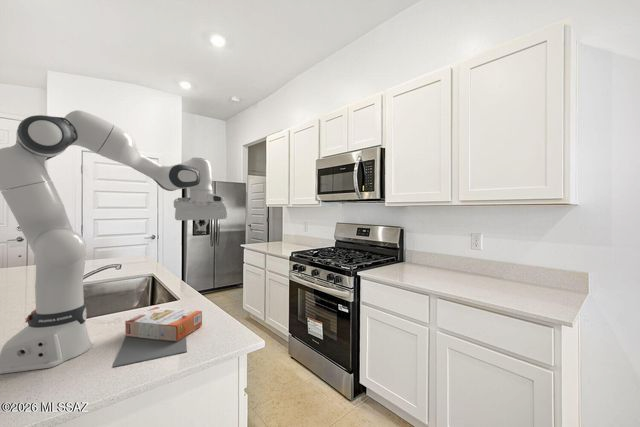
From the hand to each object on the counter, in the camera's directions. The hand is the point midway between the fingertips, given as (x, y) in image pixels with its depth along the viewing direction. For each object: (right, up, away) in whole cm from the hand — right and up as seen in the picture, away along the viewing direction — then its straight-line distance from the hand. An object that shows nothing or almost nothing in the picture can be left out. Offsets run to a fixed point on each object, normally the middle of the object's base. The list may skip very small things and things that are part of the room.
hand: (202, 230), depth 120 cm
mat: (-6, -36, -25) cm, 44 cm away
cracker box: (+4, -32, -18) cm, 37 cm away
